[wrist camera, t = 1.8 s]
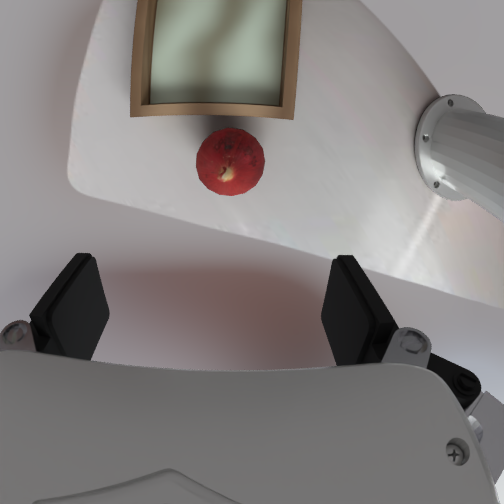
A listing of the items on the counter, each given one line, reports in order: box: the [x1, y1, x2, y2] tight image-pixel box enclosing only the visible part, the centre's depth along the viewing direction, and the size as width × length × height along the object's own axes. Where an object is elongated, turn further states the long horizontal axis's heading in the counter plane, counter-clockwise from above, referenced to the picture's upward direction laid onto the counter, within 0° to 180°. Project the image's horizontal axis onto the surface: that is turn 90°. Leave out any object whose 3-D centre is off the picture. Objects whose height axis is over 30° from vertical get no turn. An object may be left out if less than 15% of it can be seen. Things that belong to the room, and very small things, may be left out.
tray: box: [130, 0, 302, 120], centre depth 21 cm, size 14×14×4 cm
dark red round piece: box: [196, 128, 265, 196], centre depth 24 cm, size 6×6×8 cm
